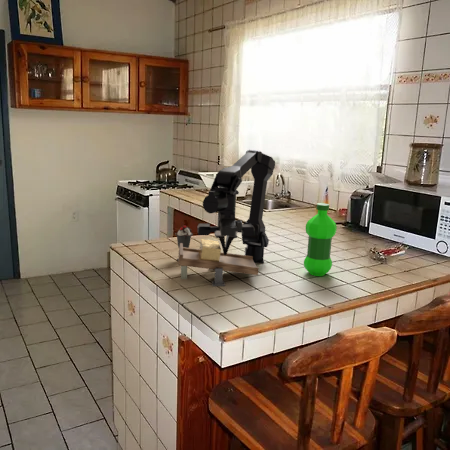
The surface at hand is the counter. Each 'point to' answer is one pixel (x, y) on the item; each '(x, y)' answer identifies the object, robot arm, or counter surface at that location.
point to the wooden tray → (226, 262)
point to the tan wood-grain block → (209, 250)
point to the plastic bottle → (319, 242)
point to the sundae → (184, 236)
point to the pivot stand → (218, 271)
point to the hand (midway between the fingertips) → (225, 254)
